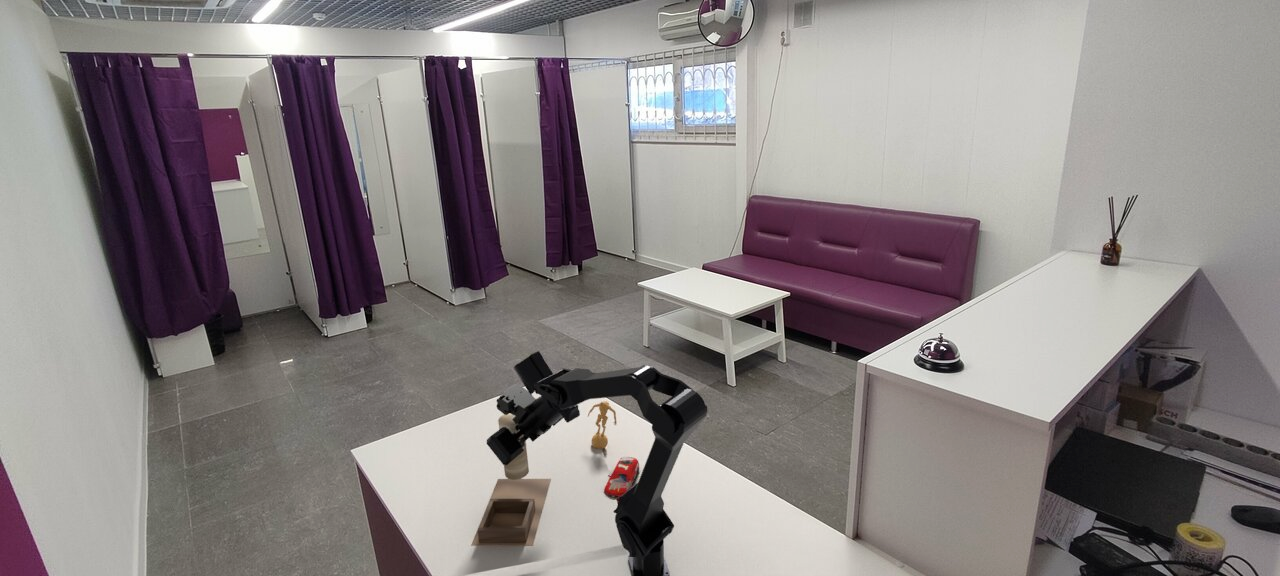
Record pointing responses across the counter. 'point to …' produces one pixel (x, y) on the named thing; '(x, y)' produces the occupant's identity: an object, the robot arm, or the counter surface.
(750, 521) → the counter surface
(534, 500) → the jig board
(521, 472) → the post
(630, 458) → the race car
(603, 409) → the figurine
